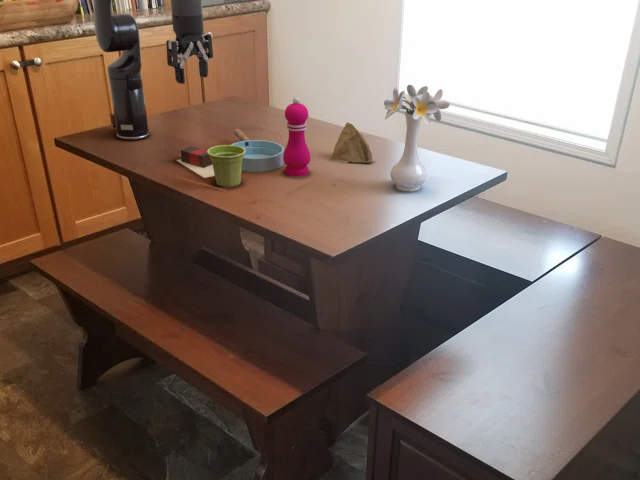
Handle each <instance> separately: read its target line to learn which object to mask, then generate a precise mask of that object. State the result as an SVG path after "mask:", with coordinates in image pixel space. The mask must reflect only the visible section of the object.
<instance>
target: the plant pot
mask: <svg viewBox="0 0 640 480" xmlns="http://www.w3.org/2000/svg"><path fill="white" fill-rule="evenodd" d="M206 150H207V153H208V154H209V156H210V159H211V161H212V165H213V169H214V174H215V176H214V178H215V182H216V183H215V184H216V185H218V186H220V187H226V188H227V187H230V188H231V187H235V186H238V185H240V184H241V183H242V172H243V171H242V159H243V157H244V153H245V149H244V148H243V147H240V146H235V145H231V144H221V145H214V146H212V147H210V148H208V149H206Z"/></svg>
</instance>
